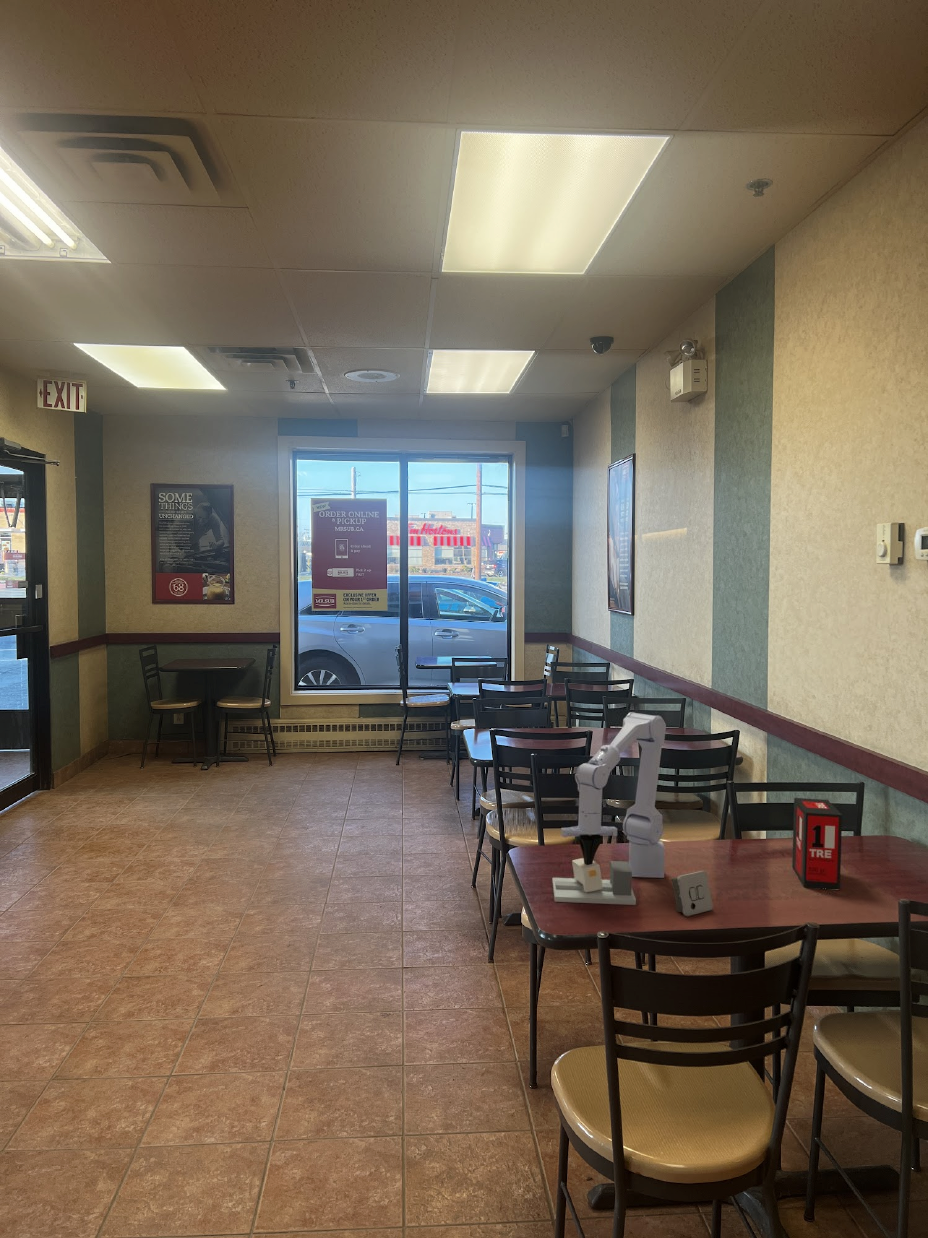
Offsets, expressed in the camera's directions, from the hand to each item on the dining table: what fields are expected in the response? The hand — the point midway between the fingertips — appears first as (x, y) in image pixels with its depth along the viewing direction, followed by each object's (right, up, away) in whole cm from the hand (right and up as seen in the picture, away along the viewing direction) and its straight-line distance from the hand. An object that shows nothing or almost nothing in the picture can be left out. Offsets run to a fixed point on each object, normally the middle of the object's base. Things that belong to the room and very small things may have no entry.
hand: (588, 864), depth 210 cm
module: (0, -6, +1) cm, 6 cm away
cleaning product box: (+64, -9, +15) cm, 67 cm away
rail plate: (+1, -8, +1) cm, 8 cm away
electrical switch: (+24, -9, -10) cm, 27 cm away
